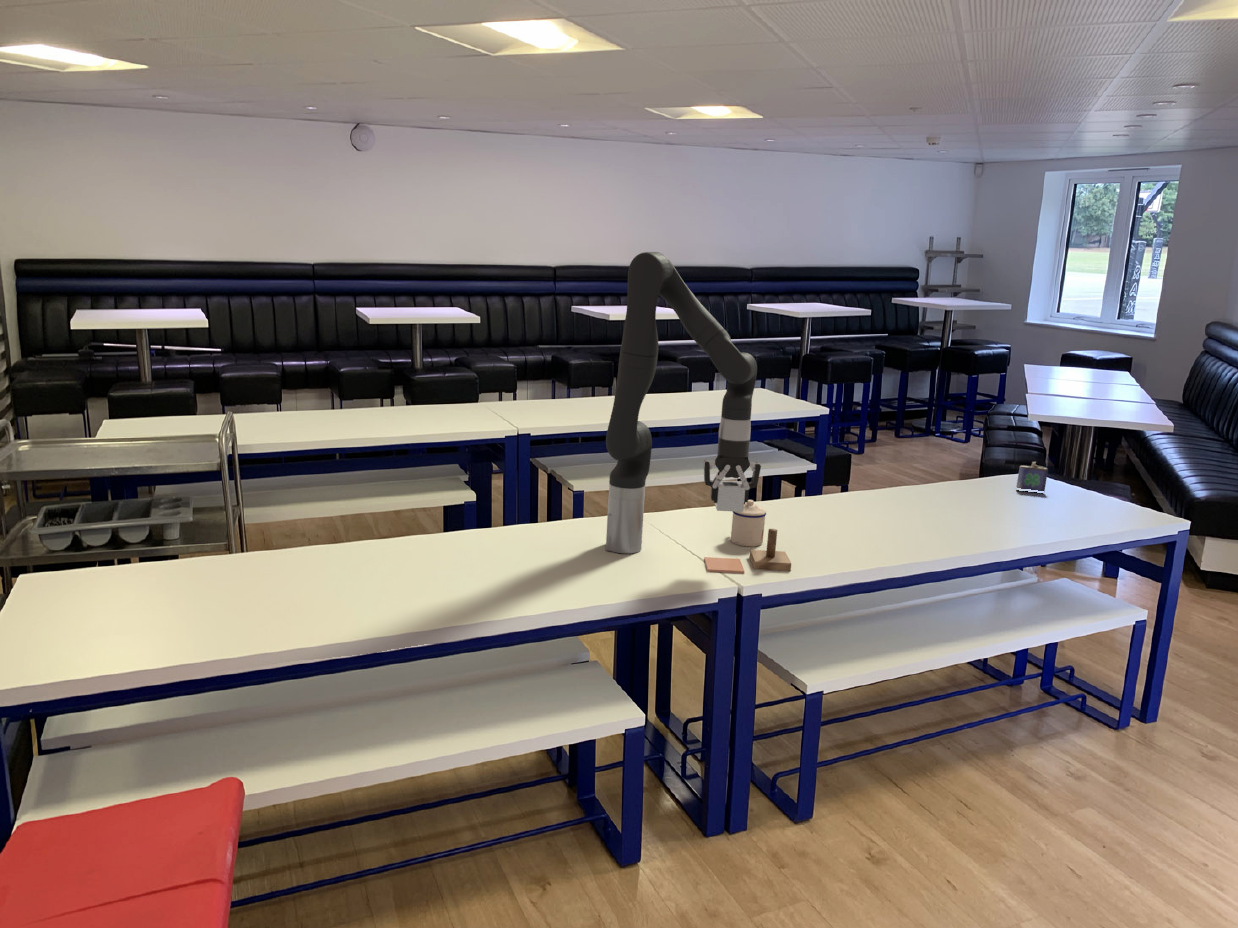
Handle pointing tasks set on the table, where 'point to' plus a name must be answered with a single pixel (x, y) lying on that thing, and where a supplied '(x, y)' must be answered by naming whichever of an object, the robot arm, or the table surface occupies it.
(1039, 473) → the flask
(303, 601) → the table surface
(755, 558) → the post block
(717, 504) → the grey square nut
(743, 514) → the beige lidded canister
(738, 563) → the tile
